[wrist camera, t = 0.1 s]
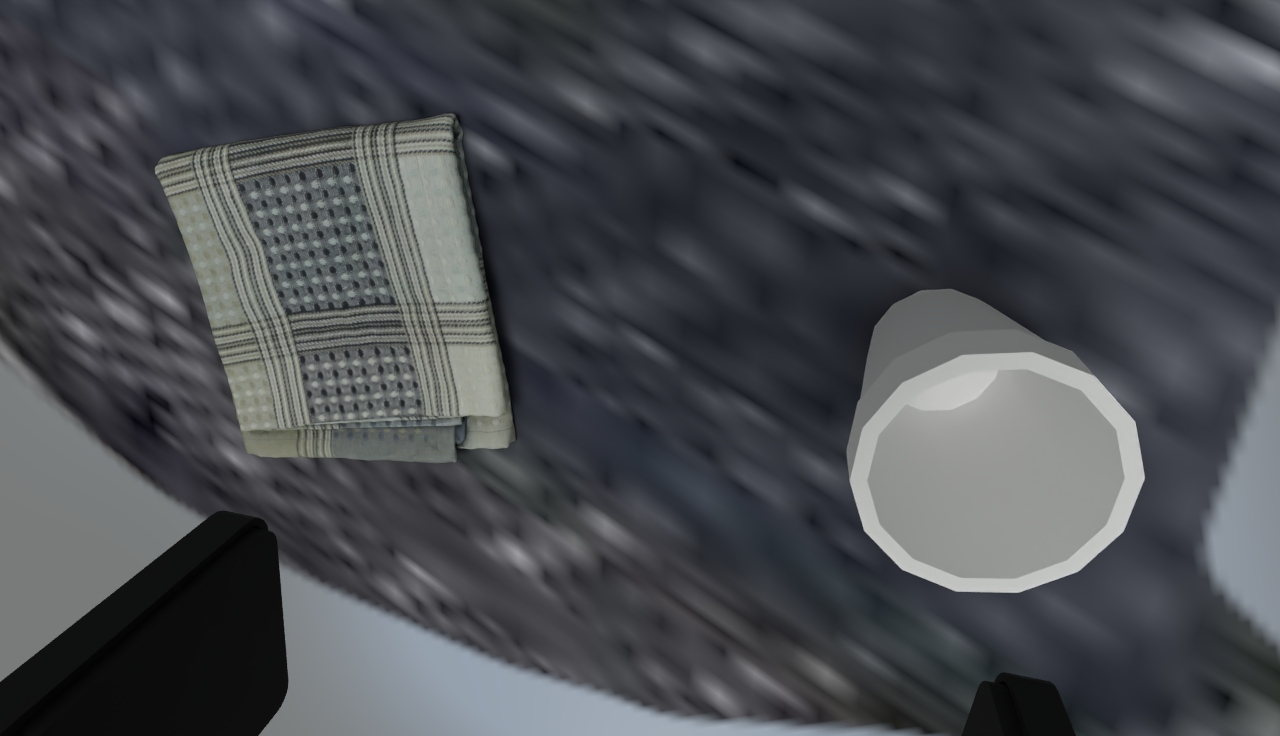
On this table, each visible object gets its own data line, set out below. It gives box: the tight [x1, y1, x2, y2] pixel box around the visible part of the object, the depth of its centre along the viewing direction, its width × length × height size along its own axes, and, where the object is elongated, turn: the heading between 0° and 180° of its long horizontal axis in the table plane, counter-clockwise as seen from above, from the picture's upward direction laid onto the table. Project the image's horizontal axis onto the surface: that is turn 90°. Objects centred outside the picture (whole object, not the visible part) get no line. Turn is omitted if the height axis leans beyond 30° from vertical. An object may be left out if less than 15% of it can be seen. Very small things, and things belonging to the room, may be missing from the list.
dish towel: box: [155, 114, 516, 463], centre depth 44 cm, size 19×18×3 cm
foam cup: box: [846, 289, 1145, 593], centre depth 34 cm, size 10×9×13 cm
